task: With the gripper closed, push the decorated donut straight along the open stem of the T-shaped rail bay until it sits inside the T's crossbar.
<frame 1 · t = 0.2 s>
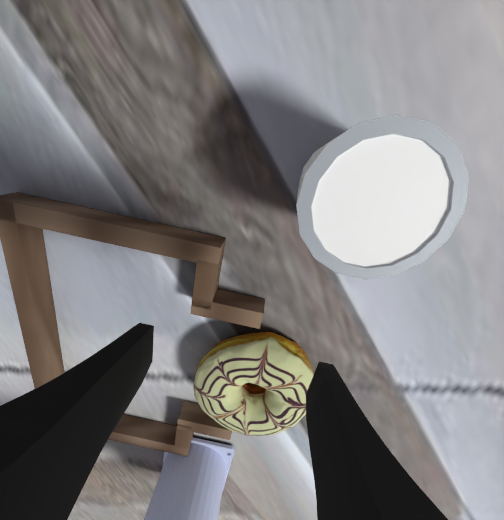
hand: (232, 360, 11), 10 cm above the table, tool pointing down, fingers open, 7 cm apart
decorated donut: (257, 366, 25), on the table
white cylinder: (341, 183, 17), on the table
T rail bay: (246, 368, 25), on the table
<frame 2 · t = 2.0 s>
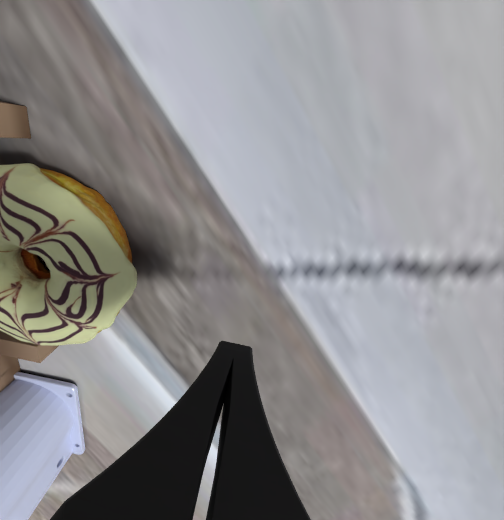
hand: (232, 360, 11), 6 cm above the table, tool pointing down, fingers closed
decorated donut: (67, 249, 17), on the table
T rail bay: (47, 248, 17), on the table
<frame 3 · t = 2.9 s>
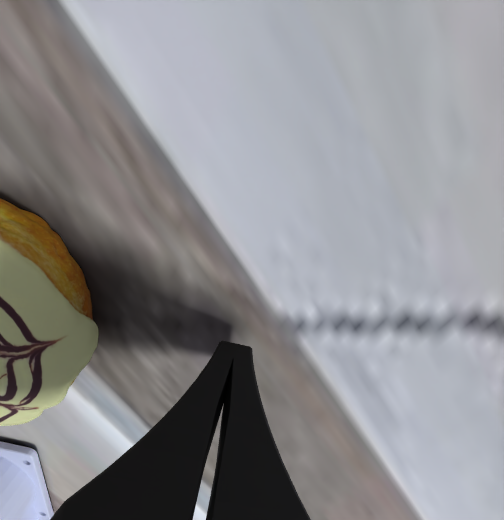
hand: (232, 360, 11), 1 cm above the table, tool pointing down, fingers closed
decorated donut: (8, 288, 12), on the table
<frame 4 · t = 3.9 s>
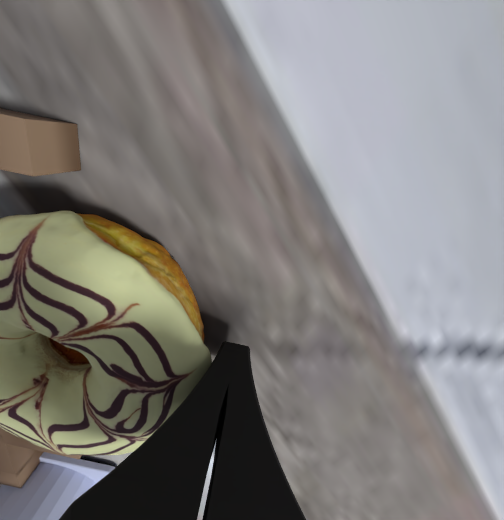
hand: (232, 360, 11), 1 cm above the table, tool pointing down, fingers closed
decorated donut: (107, 312, 12), on the table, touching gripper
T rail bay: (93, 314, 12), on the table
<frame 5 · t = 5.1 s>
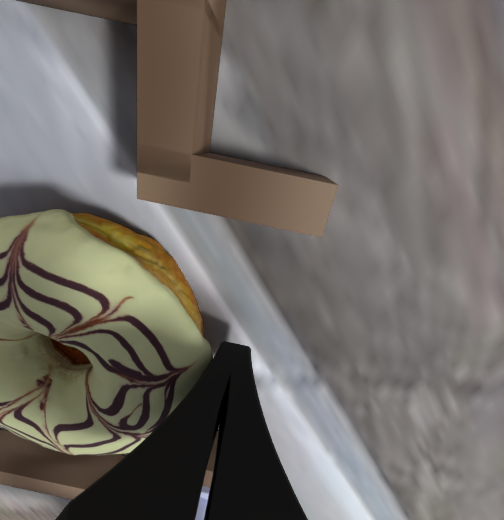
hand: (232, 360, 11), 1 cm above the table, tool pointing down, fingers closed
decorated donut: (108, 313, 12), on the table, touching gripper
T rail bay: (273, 352, 12), on the table
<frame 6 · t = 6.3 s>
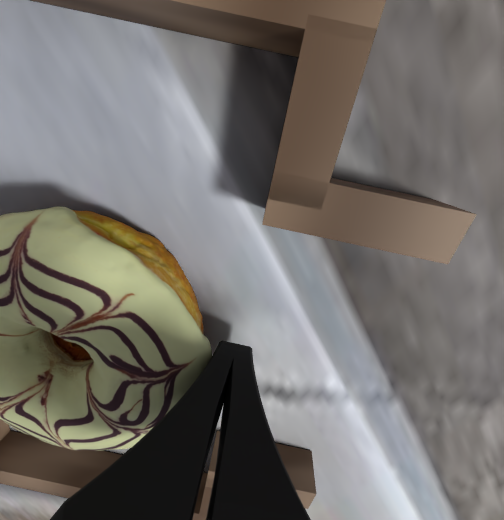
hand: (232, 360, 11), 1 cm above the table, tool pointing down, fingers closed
decorated donut: (108, 310, 12), on the table
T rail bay: (351, 369, 12), on the table
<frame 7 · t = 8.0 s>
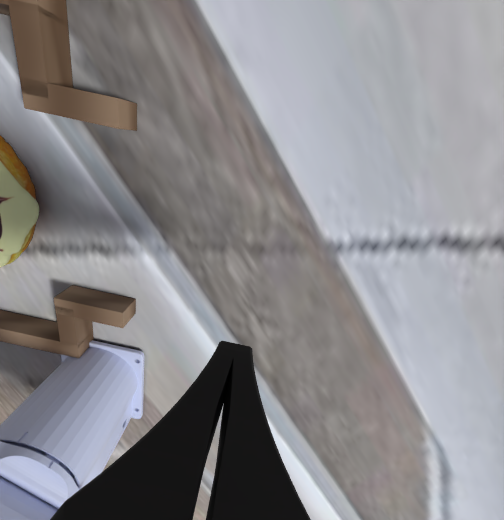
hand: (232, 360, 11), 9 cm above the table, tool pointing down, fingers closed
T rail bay: (136, 226, 19), on the table
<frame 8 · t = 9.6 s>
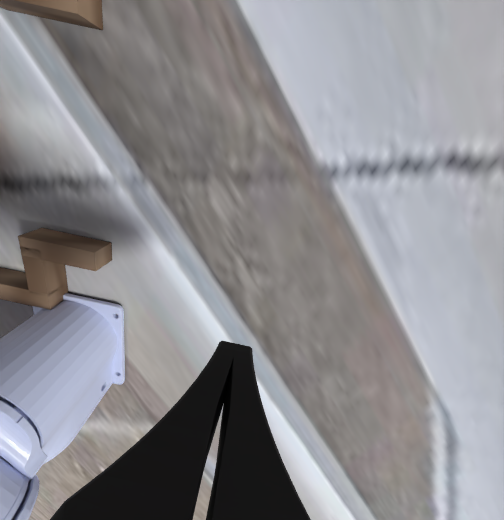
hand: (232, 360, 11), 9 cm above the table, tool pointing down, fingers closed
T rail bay: (107, 153, 17), on the table
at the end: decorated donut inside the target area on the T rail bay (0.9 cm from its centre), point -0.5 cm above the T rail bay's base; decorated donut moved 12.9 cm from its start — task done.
